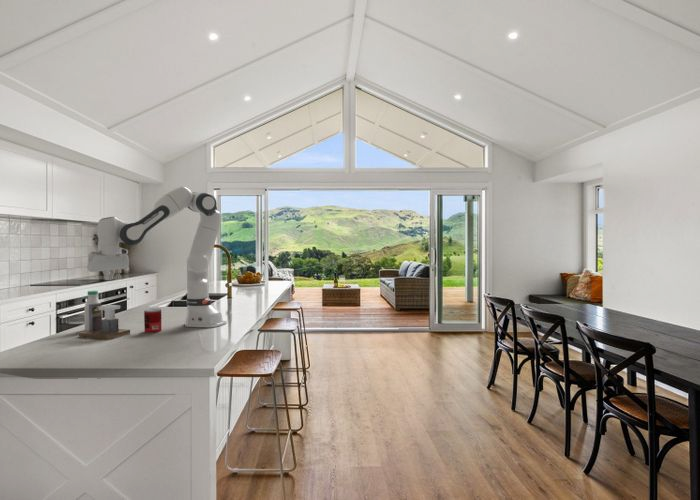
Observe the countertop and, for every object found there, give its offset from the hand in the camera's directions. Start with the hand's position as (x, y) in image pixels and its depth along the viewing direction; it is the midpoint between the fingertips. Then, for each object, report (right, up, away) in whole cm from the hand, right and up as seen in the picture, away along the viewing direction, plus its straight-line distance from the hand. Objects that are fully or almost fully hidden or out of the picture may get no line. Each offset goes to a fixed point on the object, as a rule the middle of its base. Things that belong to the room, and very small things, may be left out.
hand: (109, 279), depth 204 cm
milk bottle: (-16, -27, +14) cm, 34 cm away
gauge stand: (-3, -27, +2) cm, 27 cm away
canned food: (+16, -27, +11) cm, 33 cm away
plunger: (-2, -21, +1) cm, 21 cm away
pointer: (-7, -15, +3) cm, 17 cm away
